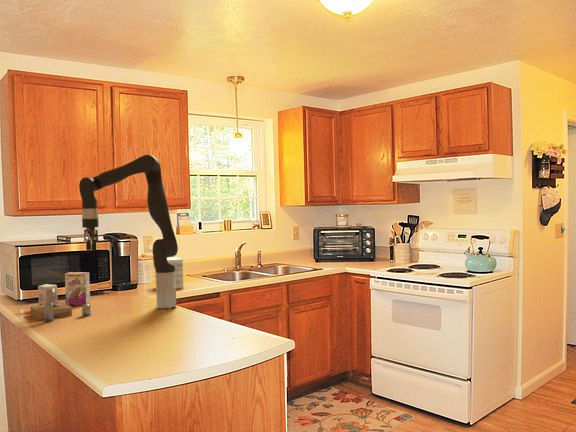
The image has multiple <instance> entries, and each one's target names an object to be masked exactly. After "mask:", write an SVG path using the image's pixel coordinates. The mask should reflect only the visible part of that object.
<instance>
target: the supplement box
mask: <svg viewBox="0 0 576 432" xmlns="http://www.w3.org/2000/svg"><path fill="white" fill-rule="evenodd" d="M167 261H168V263H169V264H172V265H174V266H175V286H176V290H178V289H184V263H183V262H184V259H183V258H181V257H179V256H178V257H167Z"/></svg>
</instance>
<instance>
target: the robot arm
mask: <svg viewBox="0 0 576 432" xmlns="http://www.w3.org/2000/svg"><path fill="white" fill-rule="evenodd" d="M143 173H144V176H145V178H146V182H147V198H146V199H147V200H146V201H147V206H148V213H149V215H150V217H151V219H152V220H153V221H154V222H155V223H154V224H156V225H157V226H158V228H159V230H160V231H161V235H162V238H158V239H156V240H154V241H153V244H152V259H153V260H152V261H153V266H154V270H155V296H156V298H155V299H156V301H155V302H156V309H159V308H160V309H161V310H167V309H166V308H168V309H173V308H172V307H175V308H177V289H176V286H175V266H174V265H172V264H169V263H168V261H167V258H174V257H175V256H177V253H178V251H179V247H178V242H177V238H176V235H175V232H174V229H173V224H172V220H171V216H170V212H169V211H170V210H169V206H168V201H167V196H166V192H165V191H166V190H165V188H164V184H163V179H162V166H161V163H160V161H159V159H157V157H155V156H153V155H151V154H144V155H141V156H139V157H138V158H136V159H134V160H132V161H130V162H128V163H126V164H124V165H121V166H119V167H116V168H113V169H112V168H111V169H109V170H107V171H104V172H100V173H99V174H98V175H95V176H93V177H88V176H87V177H82V178H81V179H80V181H79V184H78V189H79V194H80V197H81V205H82V207H81V209H82V210H81V224H82V225H81V227H82V228H83V229H84V228H85V229H84V230H83V239H84V240H83V241H84V242H85V246H86V247H85V249H86V251H92V252H96V251H98V249H97V248H98V247H97V244H98V242H99V232H98V229H96V228H98V227H99V226H100V225H99V223H100V222H99V211H98V199H97V197H96V196H95V192H96V191H100V190H102V189H103V188H106V187H108V186H109V187H110V186H112V185H115V184H118V183H120V182H122V181H123V180H125V179H127V178H128V177H130V176H133V175H137V174H143Z"/></svg>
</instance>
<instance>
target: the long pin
mask: <svg viewBox="0 0 576 432" xmlns="http://www.w3.org/2000/svg"><path fill="white" fill-rule="evenodd" d="M46 302H53V307H55V289H47V290H46Z"/></svg>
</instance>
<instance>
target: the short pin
mask: <svg viewBox="0 0 576 432" xmlns="http://www.w3.org/2000/svg"><path fill="white" fill-rule="evenodd" d="M81 312H82V313H81V315H82V317H84V318H85V317H90V316H92V310H91V303H90V304H84V305H81Z"/></svg>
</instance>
